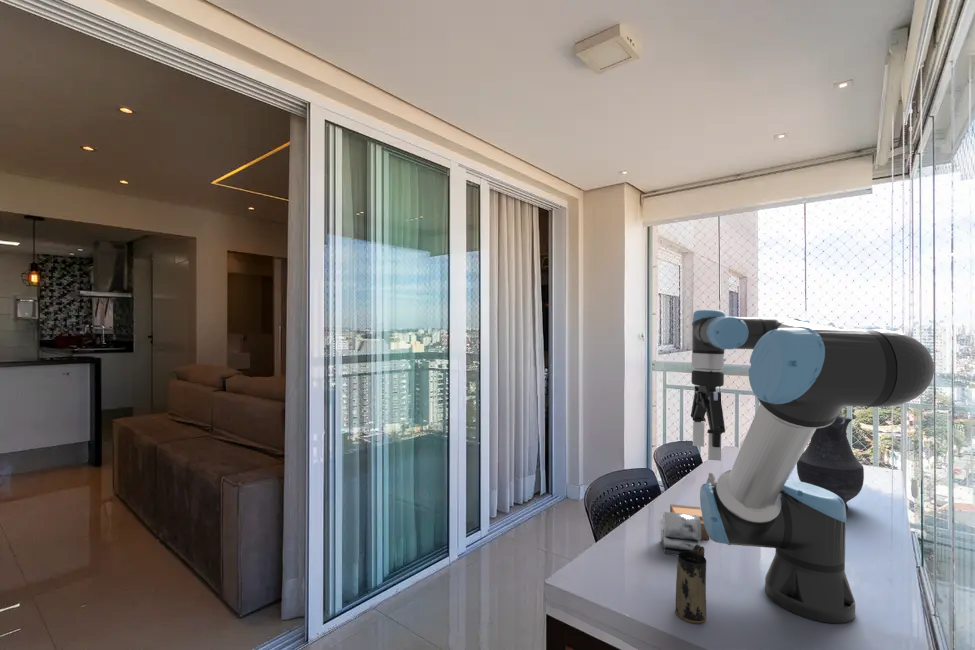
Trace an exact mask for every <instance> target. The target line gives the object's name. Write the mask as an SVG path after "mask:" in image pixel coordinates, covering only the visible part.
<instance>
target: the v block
mask: <svg viewBox="0 0 975 650" xmlns="http://www.w3.org/2000/svg"><path fill="white" fill-rule="evenodd" d="M660 534H661V537H660V543H661V545H662V549H663V553H664V554H665V555H669V556H670V555H672V556H678V554H679V553H680V552H683V551H689V552H690V550H692V549H693V548H694V547H695V545H699V546H701V541H700V542H699V541H692V540H684V539H676V538H668V537H664V534H663V529H661V533H660Z"/></svg>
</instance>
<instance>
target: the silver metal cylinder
mask: <svg viewBox="0 0 975 650" xmlns="http://www.w3.org/2000/svg"><path fill="white" fill-rule="evenodd" d="M662 530H663V534H664V537H668V538H676V539H684V540H692V541H699V542H700V543H701V540H702V539H701V522H700V518H699V516H698V515H690V514H681V513H672V512H670V511H663V512H662Z"/></svg>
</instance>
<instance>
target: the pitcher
mask: <svg viewBox="0 0 975 650" xmlns="http://www.w3.org/2000/svg"><path fill="white" fill-rule="evenodd" d="M852 420H853V418H850V417H846V416H841V415H838V416H837V418H836V420H835V421H834V422H833V423H832V424H830V425H829V426H826V427H823V428H817V429H816V430H815V432H814V434H813V436H812V437H811V439H810V441H809V443H808V444H807V446H806V448H805V450H804V451H803V453H802V455H801V457H800V458H799V460H798V462H797V464H796V473H797V476H798V479H799V480H798V481H800V482H804V483H808V484H812V485H815V486H818V487H821V488H824V489H826V490H828V491H831V492H833V493H834V494H836V495H838V496H839V497H840V498H841V499H842V500H843V501H844V503H845V508H846V511H847V510H848V509H849V506H848V504H847V503H848V502H849V501H851V500H852V499H854V498H855V497H857V496H858V495H859V494H860V492H861V490H863V489H862V488H863V485H864V480H865V472H864V471H865V468H864V466H863V464H862V463H860V462H859V460H858V459H857V457H856V455H855V453H854V452H853V450H852V447H851V445H850V442H849V440H848V436H847V428H848V426H849V424H850V422H852Z"/></svg>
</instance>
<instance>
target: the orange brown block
mask: <svg viewBox="0 0 975 650" xmlns="http://www.w3.org/2000/svg"><path fill="white" fill-rule="evenodd" d="M672 513H681V514H690V515H698V516H699V518H700V520H703V518H702V512H701V510H698V509H687V508H676V507H672Z"/></svg>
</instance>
